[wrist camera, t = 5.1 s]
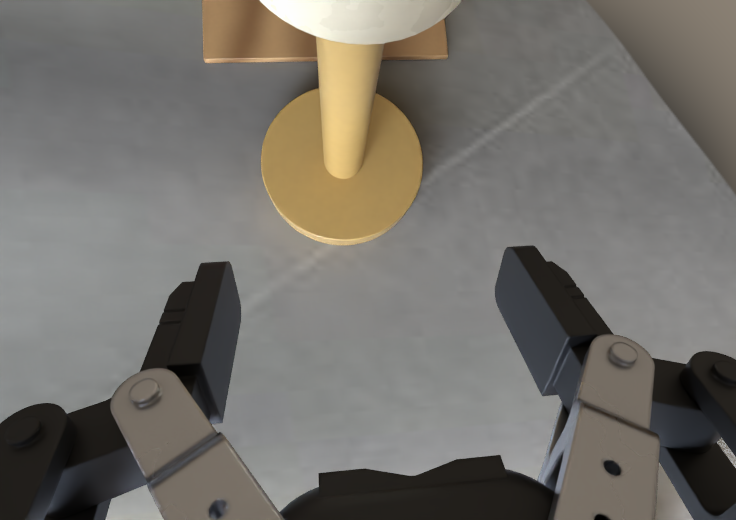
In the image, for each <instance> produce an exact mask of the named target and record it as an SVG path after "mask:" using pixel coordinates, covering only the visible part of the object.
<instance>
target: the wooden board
mask: <svg viewBox="0 0 736 520" xmlns="http://www.w3.org/2000/svg"><path fill="white" fill-rule="evenodd" d="M202 10H203V57H204V61H205V63H237V62H299V61H318V59H317V44H316V36H314V35H311V34H309V33H307V32H304V31H302V30H300V29H297V28H296V27H294V26H292V25H290V24H289V23H287V22H285V21H284V20H282V19H281V18H279V17H278V16H277V15H275V14H274V13H273V12H271V11H270V10H269V9H268V8H267V7H266V6H265V5H264V4H263V3H262V2H261V1H259V0H202ZM447 57H448V49H447V39H446V28H445V18H444V19H442V20H441V21H439V22H438V23H436V24H435V25H434V26H432V27H430V28H428V29H426V30H424V31H422V32H420V33H418V34H416V35H413V36H410V37H408V38H405V39H402V40H398V41H393V42H388V43H385V44H384V49H383V55H382V60H423V59H447Z"/></svg>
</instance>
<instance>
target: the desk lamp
mask: <svg viewBox="0 0 736 520" xmlns="http://www.w3.org/2000/svg"><path fill="white" fill-rule="evenodd" d="M259 1H261V2H262V3H263V4H264V5H265V6H266V7H267V8H268V9H269V10H270V11H271V12H273V13H274V14H275V15H277V16H278V17H279V18H281V19H282V20H284V21H285V22H287V23H289V24H290V25H292V26H294V27H296V28H297V29H300V30H302V31H304V32H307V33H309V34H311V35H314V36H316V44H317V59H318V75H319V88H317V89H314V90H311V91H308V92H306V93H304V94H302V95H300V96H298V97H297V98H295V99H294V100H292V101H291V102H290V103H289V104H287V105H286V106H285V107H284V108H283V109H282V110H281V111H280V112H279V114H278V115H277V116H276V117H275V119H274V120H273V122H272V123H271V125H270V127H269V129H268V131H267V133H266V136H265V139H264V142H263V147H262V153H261V169H262V176H263V180H264V184H265V187H266V189H267V192H268V194H269V196H270V198H271V200H272V202H273V204H274V205H275V207H276V209H277V211H278V212H279V213H280V214H281V216H282V217H283V218H284V219H285V220H286V221H287V222H288V223H289V224H290V225H291V226H292V227H293V228H294V229H296V230H297V231H298V232H300V233H302V234H303V235H305V236H307V237H309V238H311V239H314V240H316V241H319V242H323V243H326V244H333V245H353V244H359V243H363V242H367V241H370V240H372V239H375V238H377V237H379V236H381V235H382V234H384V233H386V232H387V231H388V230H390V229H391V228H392V227H394V226H395V225H396V224H397V223H398V222H399V221H400V220H401V218H402V217H403V216H404V214H405V213H406V212H407V210H408V209H409V207H410V206H411V204H412V202H413V201H414V199H415V197H416V195H417V192H418V190H419V187H420V183H421V179H422V172H423V157H422V150H421V146H420V142H419V139H418V137H417V134H416V132H415V130H414V128H413V126H412V125H411V123H410V122H409V120H408V119H407V118H406V116H405V115H404V114H403V112H401V111H400V110H399V109H398V108H397V107H396V106H395V105H394V104H393V103H391V102H390V101H389V100H387V99H386V98H384V97H382V96H381V95H379V94H377V93H375V92H376V87H377V82H378V76H379V71H380V65H381V60H382V55H383V49H384V44H385V43H388V42H393V41H398V40H402V39H405V38H408V37H410V36H413V35H416V34H418V33H420V32H422V31H424V30H426V29H428V28H430V27H432V26H434V25H435V24H436V23H438V22H439V21H441V20H442V19H444V18H445V17H446V16H447V15H448V14H450V13H451V12H452V11H453V10H454V9H455V8H456V7H457V6H458V5H459V4H460V2H461V1H462V0H259Z"/></svg>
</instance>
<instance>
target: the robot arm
mask: <svg viewBox="0 0 736 520" xmlns="http://www.w3.org/2000/svg"><path fill="white" fill-rule="evenodd" d="M495 298H496V303H497V306H498V308H499V310H500V312H501V314H502V316H503V318H504V320H505V322H506V324H507V326H508V328H509V330H510V332H511V334H512V336H513V338H514V340H515V342H516V344H517V346H518V348H519V350H520V352H521V354H522V356H523V358H524V360H525V362H526V364H527V366H528V368H529V370H530V372H531V374H532V376H533V378H534V380H535V382H536V384H537V387H538V389H539V391H540V393H541V395H542V396H548V395H559V397H560V399H561V401H562V403H561V405H560V407H559V410H558V413H557V417H556V420H555V424H554V428H553V431H552V435H551V438H550V442H549V445H548V449H547V453H546V456H545V460H544V463H543V466H542V469H541V471H540V474H539V476H538V479H537V481H536V480H535V479H533V478H531V477H528V476H526V475H523V474H521V473H518V472H514V471H511V470H506V469H505V467H504V465H503V462H502V459H501V456H500V455H496V456H486V457H476V458H466V459H457V460H454V461H452V462H449V463H447V464H444V465H442V466H439V467H437V468H434V469H432V470H429V471H427V472H424V473H422V474H419V475H416V476H406V475H400V474H394V473H388V472H382V471H376V470H370V469H356V470H346V471H336V472H326V473H319V487H318V488H315V489H313V490H310V491H308V492H306V493H304V494H303V495H301V496H299V497H298V498H296V499H295V500H293V501H292V502H291V503H289V504H288V505H287V506H286V507H285V508H284V509H282V510H281V511H280V512H279V511H278V510H277V508H276V507H275V506H274V504H273V503H272V501H271V500H270V499H269V497H268V496H267V494H266V493H265V492H264V490H263V489H262V487H261V486H260V485H259V483H258V482H257V480H256V479H255V478H254V476H253V475H252V473H251V472H250V471H249V469H248V468H247V466H246V465H245V464H244V462H243V461H242V459H241V458H240V457H239V455H238V454H237V452H236V451H235V450H234V448H233V447H232V445H231V444H230V443H229V441H228V440H227V439H226V437H225V436H224V435H223V434H222V433H221V432H219V433H217V432H216V430H215V429H214V428H213V426H212V425H211V424H214V423H222V422H223V417H224V411H225V406H226V400H227V395H228V389H229V384H230V378H231V372H232V367H233V361H234V356H235V350H236V345H237V339H238V334H239V328H240V323H241V305H240V299H239V295H238V291H237V287H236V282H235V278H234V274H233V270H232V266H231V264H230V262H229V261H227V262H209V263H201V264H200V266H199V269H198V272H197V275H196V278H195V281H193V282H182V283H181V284H180V285H179V286H178V287H177V288H176V289H175V290H174V291H173V292H172V293H171V294H170V296H169V298H168V301H167V303H166V306H165V309H164V313H163V314H162V316H161V319H160V321H159V323H160V324H159V325H158V327H157V329H156V332H155V334H154V337H153V339H152V342H151V345H150V347H149V350H148V352H147V355H146V357H145V360H144V362H143V365H142V368H141V370H140V372H139V373H137V374H135V375H133V376H131V377H130V378H128V379H127V380H126V381H124V382H123V383H122V384H121V385H120V386H119V387H118V389H117V390H116V391H115V393H114V395H113V397H112V398H110V399H108V400H106V401H103V402H101V403H98V404H95V405H92V406H89V407H86V408H83V409H80V410H77V411H74V412H71V413H68V414H66V412H65V411H64V410H63V409H62V408H61V407H60V406H58V405H56V404H51V403H42V404H36V405H33V406H29V407H27V408H24V409H22V410H20V411H18V412H16V413H14V414H13V415H11V416H10V417H8V418H7V419H5V420H4V421H3V422H2V423H1V424H0V520H105V519H106V515H107V512H108V509H109V505H110V502H111V499H112V498H114V497H117V496H119V495H122V494H124V493H126V492H129V491H131V490H134V489H136V488H139V487H141V486H143V485H146V484H147V486H148V489H149V491H150V493H151V495H152V497H153V499H154V501H155V503H156V505H157V507H158V509H159V511H160V513H161V514H162V516H163V518H164V520H655V516H656V499H657V483H658V467H659V462H660V464H661V466H662V467H663V469H664V471H665V472H666V474H667V476H668V477H669V479H670V481H671V482H672V484H673V486H674V487H675V489H676V491H677V493H678V494H679V496H680V498H681V499H682V501H683V503H684V504H685V506H686V508H687V509H688V511H689V513H690V514H691V516H692V518H693V519H694V520H736V468H735V467H734V466H733V464H732V463H731V462H730V460H729V459H728V457H727V456H726V455H725V453H724V452H723V451H722V449H721V448H720V446H719V445H718V444H717V441H718V440H719V439H720V438H721V437H722V439H723V440H724V442H725V443H726V444H727V446H728V447H729V448H730V450H731V451H732V452H733V454H734V455H735V456H736V360H735V359H733V358H731V357H729V356H726V355H723V354H720V353H716V352H710V351H703V352H698V353H696V354H694V355H693V356H692V358H691V359H690V360H689V362H688V363H687V364H682V363H677V362H671V361H666V360H660V359H655V358H652V357H651V356H650V354H649V353H648V352H647V351H646V350H645V349H644V348H643V347H642V346H640V345H639V344H637V343H636V342H634V341H632V340H630V339H628V338H626V337H623V336H619V335H614V334H613V333H612V332H611V330H610V329H609V328H608V326H607V325H606V324H605V322H604V321H603V320H602V318H601V317H600V316H599V314H598V313H597V312H596V310H595V309H594V308H593V306H592V305H591V304H590V302H589V301H588V300H587V298H584V294H583V293H582V292H581V290H580V289H579V288H578V287H576V284H575V282H574V281H573V280H572V278H571V277H570V276H569V274H568V273H567V272H566V271H565V270H563V269H562V268H560V267H559V266H558V265H556V264H555V263H553V262H552V261H550V262H546V261H545V259H544V258H543V256H542V255H541V254H540V252H539V251H538V249H537V248H536V247H535V246H516V247H507V248H506V250H505V252H504V255H503V259H502V263H501V266H500V270H499V274H498V278H497V282H496V286H495Z"/></svg>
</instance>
